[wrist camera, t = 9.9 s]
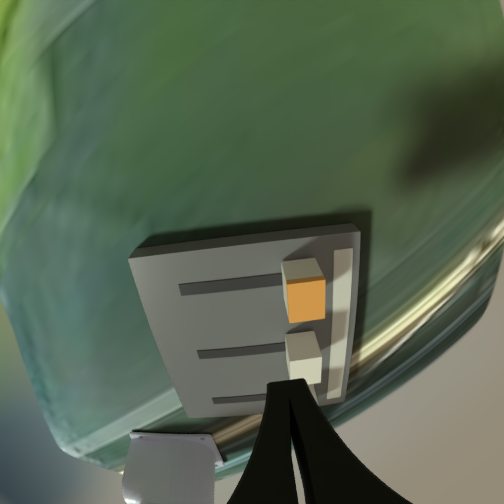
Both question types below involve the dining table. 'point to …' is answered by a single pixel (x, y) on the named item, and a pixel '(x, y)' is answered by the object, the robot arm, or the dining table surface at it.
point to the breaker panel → (249, 316)
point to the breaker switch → (303, 290)
